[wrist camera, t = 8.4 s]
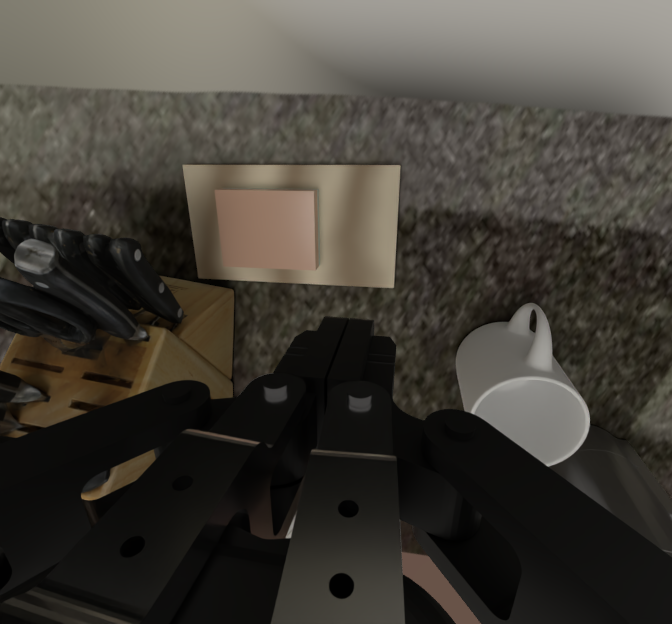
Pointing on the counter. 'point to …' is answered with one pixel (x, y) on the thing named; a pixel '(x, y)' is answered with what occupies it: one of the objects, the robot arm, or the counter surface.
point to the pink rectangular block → (269, 227)
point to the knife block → (101, 333)
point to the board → (334, 220)
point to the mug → (522, 387)
